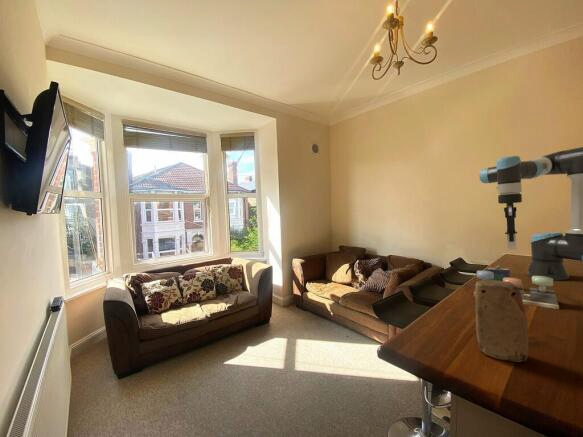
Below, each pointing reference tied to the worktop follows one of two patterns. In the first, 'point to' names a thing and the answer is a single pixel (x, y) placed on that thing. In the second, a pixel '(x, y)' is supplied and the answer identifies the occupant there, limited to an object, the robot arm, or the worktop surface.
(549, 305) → the button board
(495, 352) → the block
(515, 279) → the terracotta button
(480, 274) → the slate button
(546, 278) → the sage button
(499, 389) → the worktop surface
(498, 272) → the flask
